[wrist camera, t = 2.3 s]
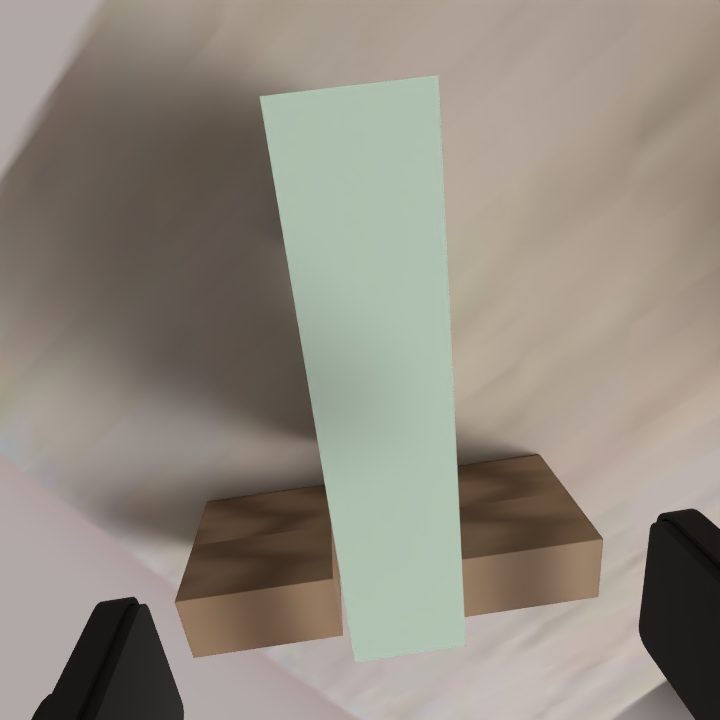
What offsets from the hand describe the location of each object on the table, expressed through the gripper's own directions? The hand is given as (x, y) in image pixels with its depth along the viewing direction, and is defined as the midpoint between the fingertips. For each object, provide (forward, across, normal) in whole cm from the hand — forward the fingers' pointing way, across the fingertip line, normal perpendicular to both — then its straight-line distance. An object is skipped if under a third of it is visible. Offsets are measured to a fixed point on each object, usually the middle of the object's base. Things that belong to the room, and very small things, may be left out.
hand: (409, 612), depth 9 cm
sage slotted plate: (+21, -1, -1) cm, 21 cm away
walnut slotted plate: (+21, -1, +13) cm, 25 cm away
